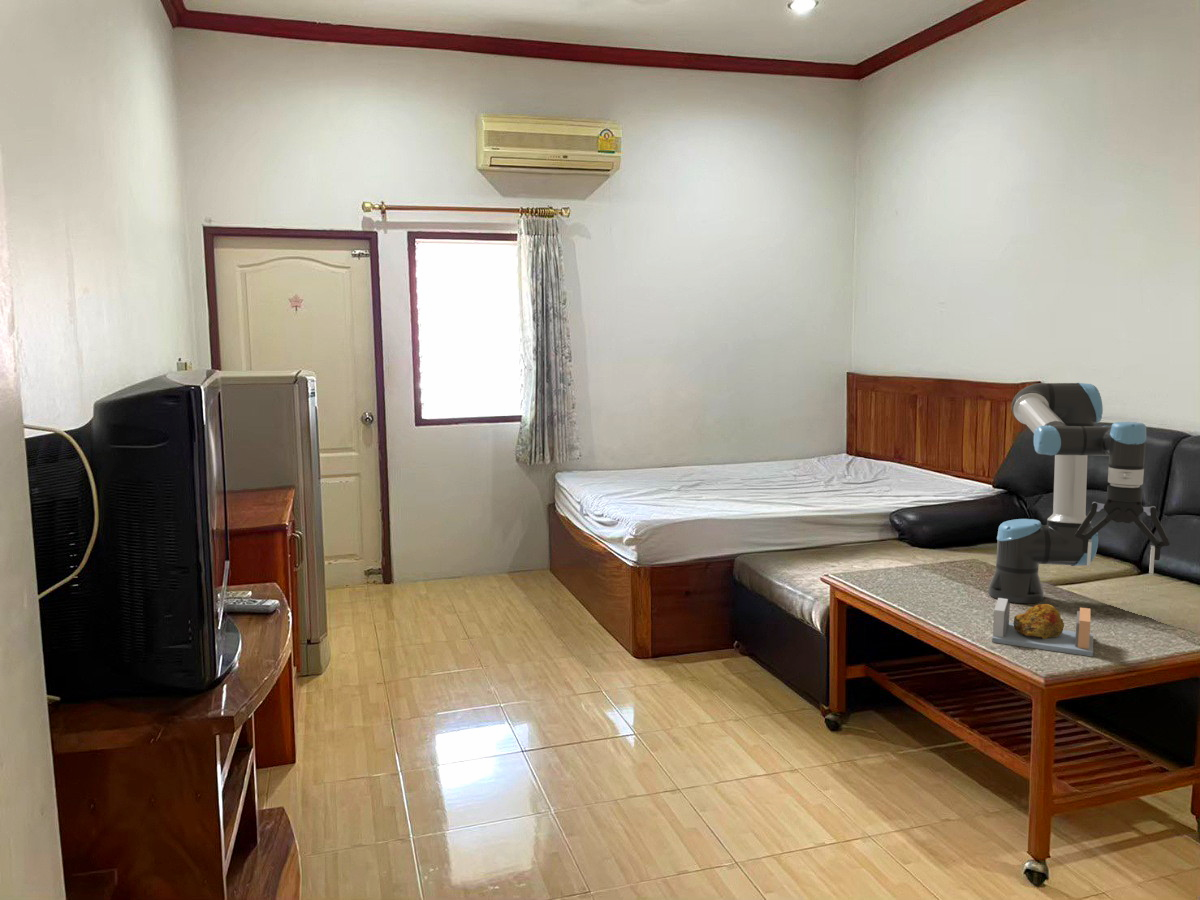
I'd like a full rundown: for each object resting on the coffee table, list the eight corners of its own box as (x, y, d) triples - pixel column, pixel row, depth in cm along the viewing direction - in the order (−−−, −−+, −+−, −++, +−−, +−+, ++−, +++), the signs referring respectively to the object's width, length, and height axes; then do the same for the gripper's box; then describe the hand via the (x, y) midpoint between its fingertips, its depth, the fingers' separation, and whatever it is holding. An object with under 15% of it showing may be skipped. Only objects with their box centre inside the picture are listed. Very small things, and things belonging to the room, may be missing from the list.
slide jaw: (1075, 632, 235) (1077, 607, 234) (1088, 634, 234) (1090, 608, 233) (1075, 647, 225) (1076, 620, 224) (1088, 649, 223) (1090, 621, 223)
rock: (1051, 656, 230) (1026, 630, 229) (1027, 650, 238) (1004, 625, 237) (1074, 623, 233) (1051, 597, 231) (1050, 618, 241) (1027, 593, 239)
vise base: (997, 625, 246) (998, 596, 245) (1092, 638, 235) (1094, 608, 234) (992, 642, 233) (993, 611, 232) (1092, 656, 222) (1095, 624, 221)
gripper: (1067, 483, 223) (1062, 566, 226) (1186, 491, 211) (1179, 579, 214) (1068, 479, 230) (1064, 560, 233) (1184, 486, 218) (1177, 571, 220)
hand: (1119, 569), depth 223 cm, fingers open, 13 cm apart
